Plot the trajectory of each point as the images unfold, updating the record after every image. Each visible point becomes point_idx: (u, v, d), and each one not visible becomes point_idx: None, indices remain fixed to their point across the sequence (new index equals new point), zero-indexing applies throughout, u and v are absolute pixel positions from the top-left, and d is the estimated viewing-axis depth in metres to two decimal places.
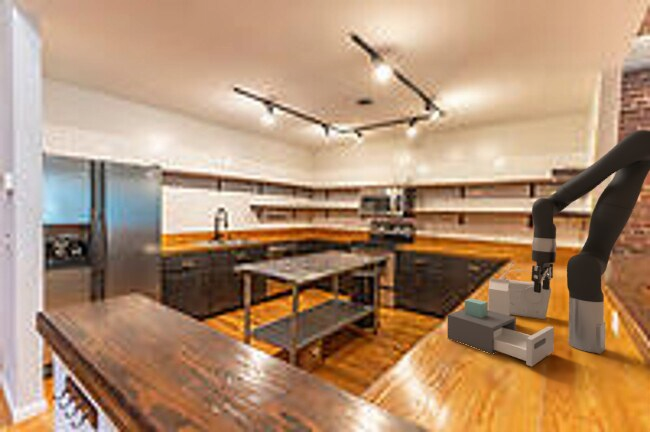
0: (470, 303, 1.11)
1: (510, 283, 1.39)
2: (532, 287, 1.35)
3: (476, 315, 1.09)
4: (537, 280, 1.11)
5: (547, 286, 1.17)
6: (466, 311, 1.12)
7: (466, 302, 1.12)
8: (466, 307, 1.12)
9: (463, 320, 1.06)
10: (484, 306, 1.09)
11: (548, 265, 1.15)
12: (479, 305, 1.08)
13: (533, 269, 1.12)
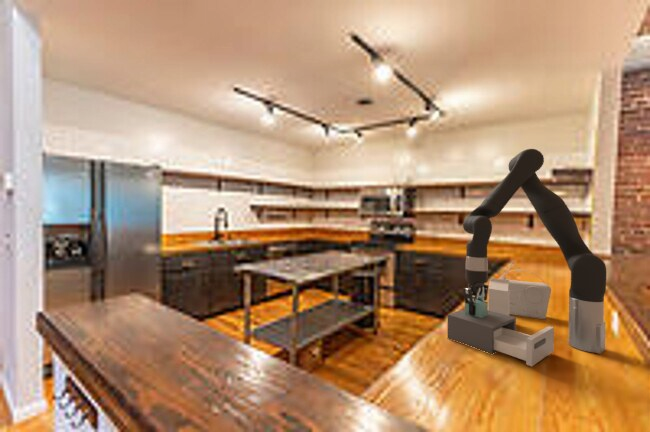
0: None
1: (510, 283, 1.39)
2: (532, 287, 1.35)
3: (476, 315, 1.09)
4: (470, 302, 1.08)
5: None
6: (466, 311, 1.12)
7: None
8: (466, 307, 1.12)
9: (463, 320, 1.06)
10: (484, 306, 1.09)
11: (482, 284, 1.12)
12: (479, 305, 1.08)
13: (465, 292, 1.08)
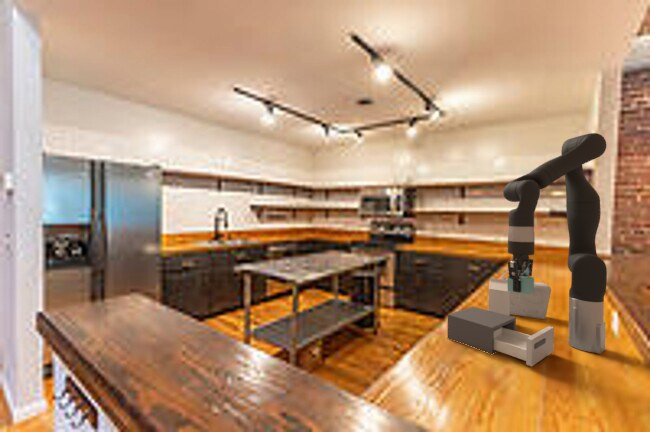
0: None
1: None
2: None
3: (522, 292, 0.97)
4: (515, 277, 0.95)
5: None
6: (509, 288, 1.00)
7: (509, 278, 1.00)
8: (509, 283, 1.00)
9: (463, 320, 1.06)
10: (531, 281, 0.97)
11: (527, 257, 1.00)
12: (526, 280, 0.96)
13: (509, 266, 0.96)
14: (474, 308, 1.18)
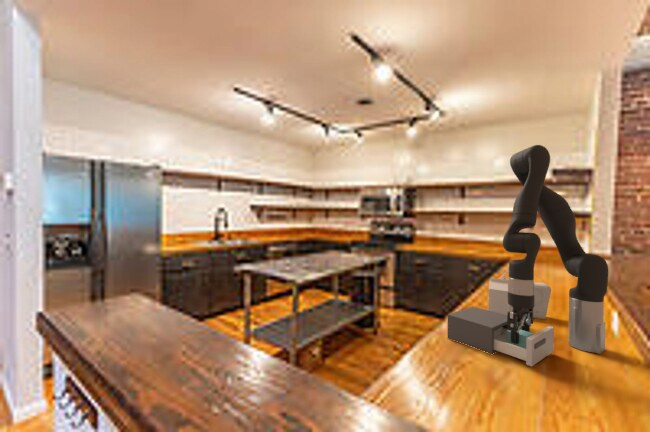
0: None
1: None
2: None
3: None
4: (513, 330, 0.94)
5: None
6: (509, 343, 1.00)
7: (509, 333, 1.00)
8: (509, 338, 1.00)
9: (463, 320, 1.06)
10: None
11: (527, 309, 0.99)
12: (525, 337, 0.96)
13: (508, 316, 0.96)
14: (474, 308, 1.18)
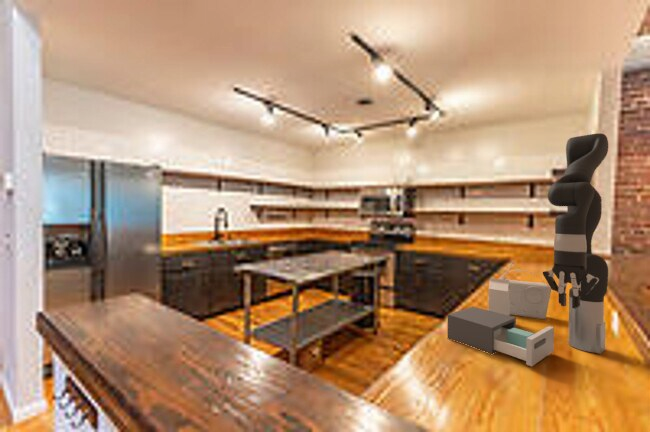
0: (514, 334, 0.98)
1: (510, 283, 1.39)
2: (532, 287, 1.35)
3: None
4: None
5: None
6: (509, 343, 1.00)
7: (509, 333, 1.00)
8: (509, 338, 1.00)
9: (463, 320, 1.06)
10: None
11: (579, 270, 0.86)
12: (525, 337, 0.96)
13: None
14: (474, 308, 1.18)
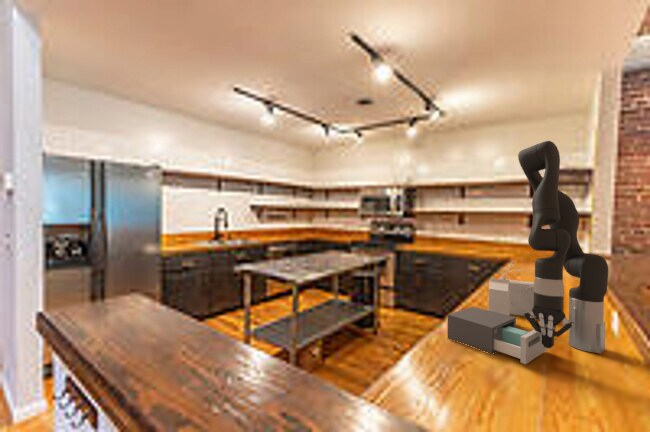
0: (509, 333, 1.00)
1: (510, 283, 1.39)
2: (532, 287, 1.35)
3: None
4: None
5: None
6: (504, 341, 1.01)
7: (504, 331, 1.01)
8: (504, 337, 1.01)
9: (463, 320, 1.06)
10: None
11: (557, 313, 0.90)
12: (520, 336, 0.97)
13: None
14: (474, 308, 1.18)
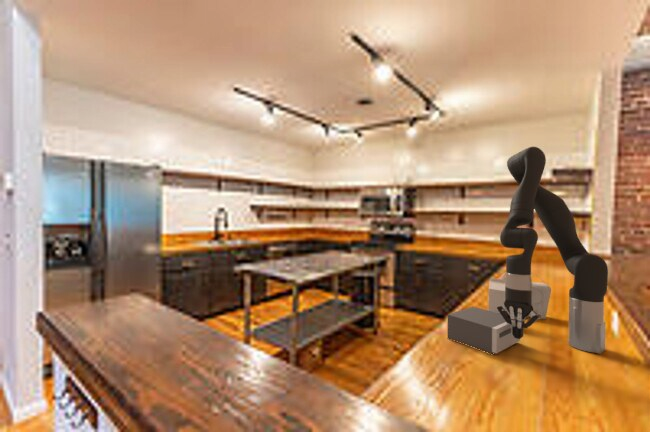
0: None
1: None
2: (532, 287, 1.35)
3: None
4: None
5: None
6: None
7: None
8: None
9: (463, 320, 1.06)
10: None
11: (525, 306, 0.97)
12: None
13: None
14: (474, 308, 1.18)
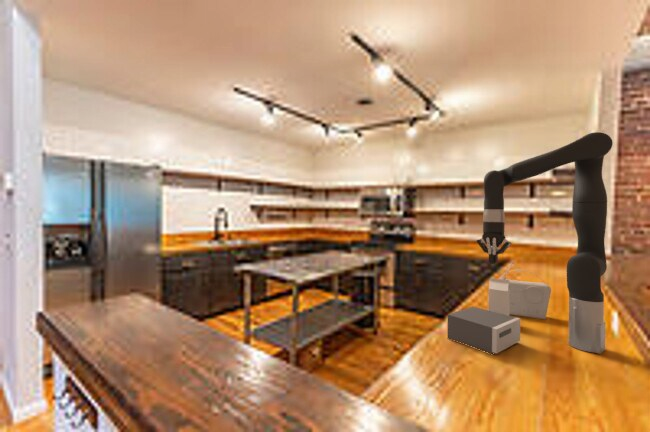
0: None
1: (510, 283, 1.39)
2: (532, 287, 1.35)
3: None
4: None
5: None
6: None
7: None
8: None
9: (463, 320, 1.06)
10: None
11: (499, 235, 1.16)
12: None
13: None
14: (474, 308, 1.18)
